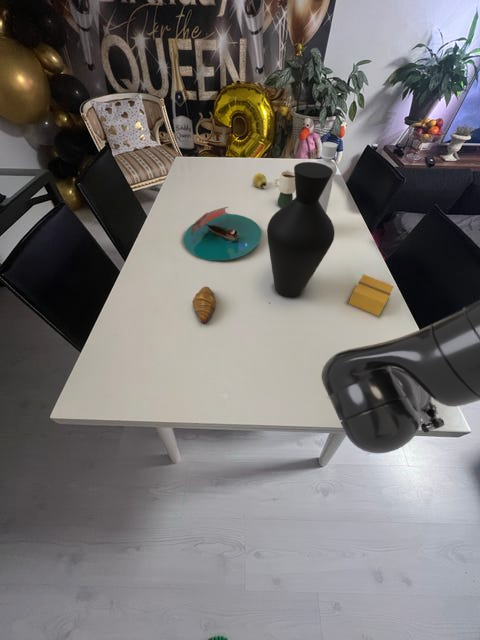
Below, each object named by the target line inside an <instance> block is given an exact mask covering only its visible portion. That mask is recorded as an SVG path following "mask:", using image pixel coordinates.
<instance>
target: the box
mask: <svg viewBox="0 0 480 640" xmlns="http://www.w3.org/2000/svg"><path fill="white" fill-rule="evenodd" d="M394 287H395V285H393V284H390V283H387V282H385V281H383V280H380V279H377V278H374V277H372V276H370V275H367V274H365V273H364V274H363V275H362V276H361V278H360V279H359V280H358V282H357V285H356V286H355V288H354V290H353V291H352V294H351V296H350V299H349V301H348V304H349V305H352V306H354V307H356V308H358V309H361V310H363V311H366V312H367V313H370V314H372V315H375V316H376V317H379V316H380V315H381V313H382V311H383V309H384V308H385V306H386V304H387V302H388V300H389V298H390V296H391V294H392V292H393V289H394Z"/></svg>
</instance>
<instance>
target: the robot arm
mask: <svg viewBox="0 0 480 640" xmlns="http://www.w3.org/2000/svg"><path fill="white" fill-rule="evenodd" d="M320 379H321V381H322V382H321V383H322V385H323V387H324V390H325V392H326V394H327V397H328V398H329V400H330V402H331V404H332V407H333V409H334V411H335V413H336V415H337V417H338V420H339V422H340V424H341V428H342V429H343V432H344V433H345V435H346V436H347V438H348V439H349V441H350V442H351V443H352V444H353V445H354V446H355V447H356V448H358V449H360V450H361V451H364V452H367V453H369V454H387V453H391V452H394V451H397V450H399V449H401V448H402V447H404V446H406V445H408V443H409V442H410V441H412V440H413V438H414V437H415V436H416V435H417V434H418V432H419V430H420V429H421V431H422V432H423V433H424V434H427V433H429V432H432V431H434V430H436V429H440V428H442V427H443V426H445V425H446V424H445V421H444V420H443V419H442V418H441V417H437V415H438V414H439V413H438V410H437V409H438V407H437V406H436V405H435V404H434V403H433V401H432V399H433V400H435V401H436V402H437V403H438V404H441V405H443V406H446V407H452V408H453V407H460V406H461V407H462V406H466V405H469V404H473V403H476V402H478V401H480V298H479V299H478V300H476V301H473V302H472V303H469V304H467V305H465V307H462V308H460V309H458V310H456V311H454V312H452V313H450V314H448V315H447V316H444V317H442V318H441V319H439V320H437V321H435V322H433V323H431V324H429V325H427V326H425V327H423V328H420V329H418V330H416V331H413V332H411V333H409V334H405V335H403V336H399V337H397V338H393V339H390V340H386V341H383V342H378V343H373V344H369V345H364V346H358V347H352V348H349V349H345V350H342V351H338V352H337V353H335V354H333V355H332V356H330V357H329V358H328V360H327V361H325V363H324V365H323V367H322V370H321V378H320Z"/></svg>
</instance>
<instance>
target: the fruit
mask: <svg viewBox="0 0 480 640" xmlns="http://www.w3.org/2000/svg"><path fill="white" fill-rule="evenodd" d="M252 184H253V186H254V187H256V188H259V189H265V190H268V188H267V185H268V182H267V178H266V175H265V174H263V173H261V172H257V173H255V174H254V175H253V177H252Z"/></svg>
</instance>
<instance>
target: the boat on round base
mask: <svg viewBox="0 0 480 640" xmlns="http://www.w3.org/2000/svg"><path fill="white" fill-rule="evenodd" d="M226 209H229V206H225V207H221V208H217V209H213V210H211V211H209V212H206V213H205V214H203V215H202V216H201V217H199V218H198V219H197V220H196V221H195V222H194V223H193V224H191V225H190V226H189V227H188V228H187V230H186V231H185V232H184V233H185V234H184V236H183V239H182V240H183V241H182V242H183V245H184V247H185V249H186V250H187V251H188V252H189V253H190V254H192V255H194V256H196V257H197V258H200V259H202V260H203V259H204V260H209V261H226V260H233V259H237V258H241V257H242V256H245V255H246V254H249V253H250V252H251V251H252V250H254V249H255V248H256V247H257V246H258V245H259V243H260V242H261V239H262V236H263V235H262V234H263V233H262V232H263V231H262V229H261V227H260V226H259V224H258V223H257V222H256V221H254V220H252V219H251V218H249V217H247V216H245V215H240V214H235V213H229V212H226Z"/></svg>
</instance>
